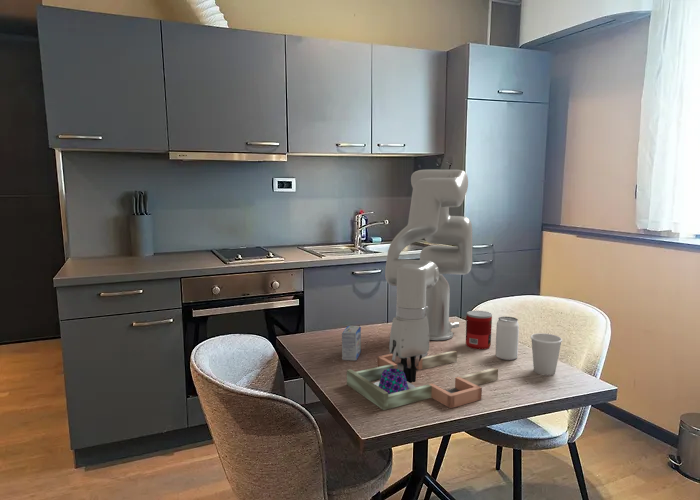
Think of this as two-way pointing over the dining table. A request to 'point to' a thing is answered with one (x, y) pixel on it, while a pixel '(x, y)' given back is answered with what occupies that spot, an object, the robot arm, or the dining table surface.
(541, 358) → the dixie cup
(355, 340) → the medicine box
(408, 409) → the dining table surface
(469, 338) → the canned food
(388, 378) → the pudding
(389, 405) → the track
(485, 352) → the dining table surface
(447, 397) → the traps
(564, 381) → the dining table surface
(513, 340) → the can
